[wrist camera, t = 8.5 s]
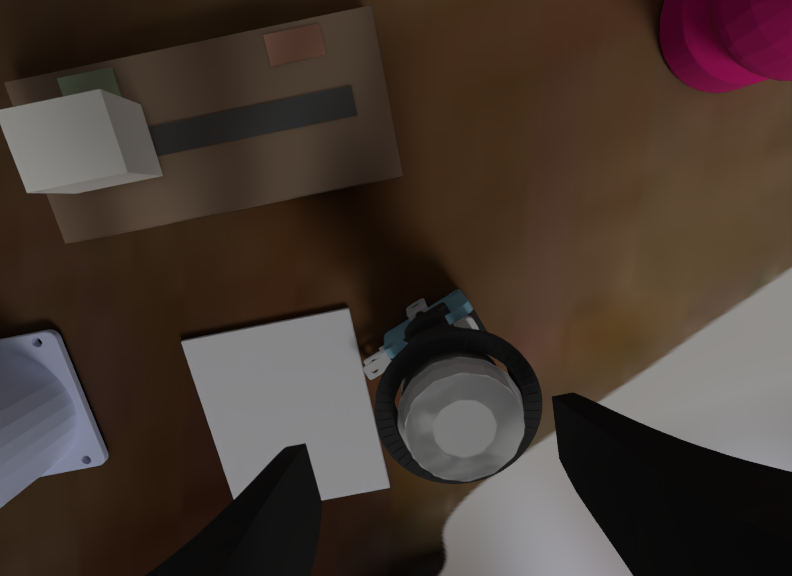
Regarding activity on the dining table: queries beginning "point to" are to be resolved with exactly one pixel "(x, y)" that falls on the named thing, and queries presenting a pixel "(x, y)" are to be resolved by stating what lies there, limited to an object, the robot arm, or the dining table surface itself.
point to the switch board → (238, 122)
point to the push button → (453, 394)
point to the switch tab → (80, 143)
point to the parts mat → (290, 401)
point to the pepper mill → (727, 42)
